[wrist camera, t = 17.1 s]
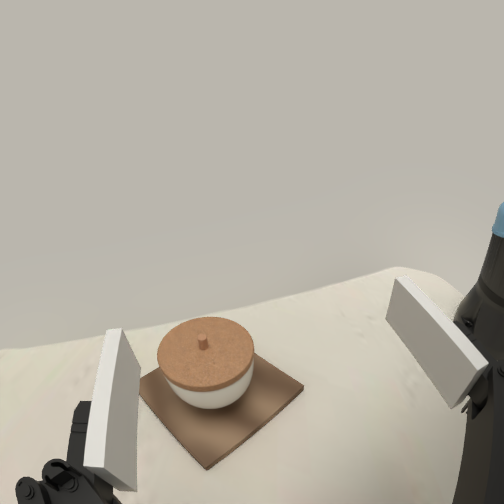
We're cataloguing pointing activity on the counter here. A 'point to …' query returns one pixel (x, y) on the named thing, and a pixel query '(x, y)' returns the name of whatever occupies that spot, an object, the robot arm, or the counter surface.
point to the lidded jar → (207, 361)
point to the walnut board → (220, 412)
